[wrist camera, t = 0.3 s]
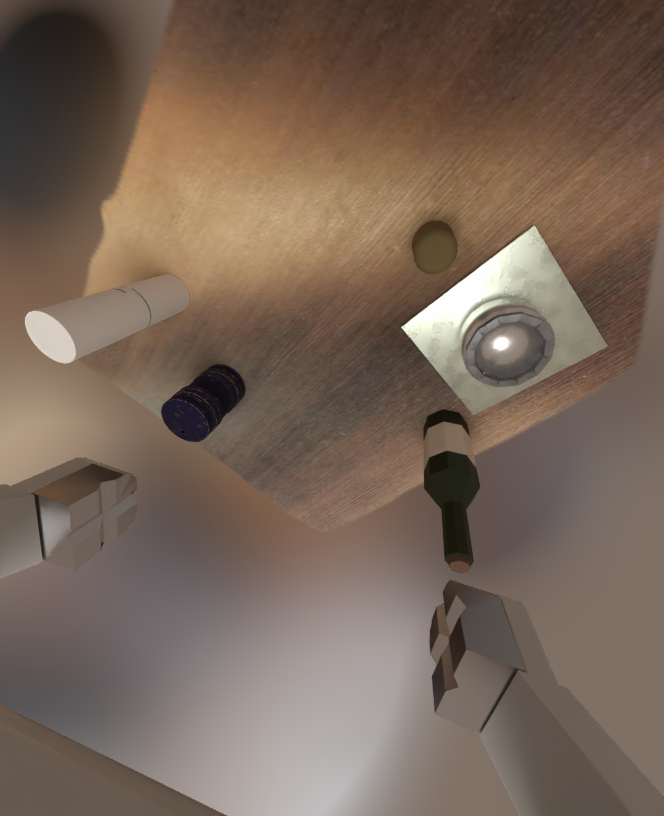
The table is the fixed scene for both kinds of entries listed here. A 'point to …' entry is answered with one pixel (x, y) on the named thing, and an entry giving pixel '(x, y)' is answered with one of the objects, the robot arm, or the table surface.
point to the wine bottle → (451, 482)
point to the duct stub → (505, 325)
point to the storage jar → (203, 403)
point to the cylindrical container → (104, 317)
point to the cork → (434, 247)
